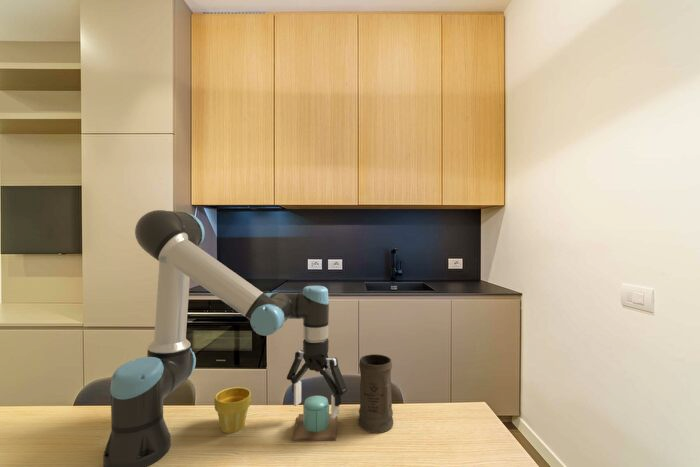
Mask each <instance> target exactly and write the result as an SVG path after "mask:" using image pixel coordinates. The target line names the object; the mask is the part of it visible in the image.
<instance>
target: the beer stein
mask: <svg viewBox="0 0 700 467" xmlns="http://www.w3.org/2000/svg"><path fill="white" fill-rule="evenodd" d="M358 365H359V366H358V367H359V374H360V384H359V385H360V386H359V393H360V396H359V397H360V398H359V399H360V400H359V401H360V402H359V403H360V404H359V410H358V414H359V415H358V418H357V419H358V421H357V422H358V426H359V427H360V428H361V429H362V430H364V431H366V432H368V433H373V434H374V433H377V434H379V433H386V432H388V431H390V430H391V429H392V428H393V426H394V418H393V414H394V411H393V404H392V376H391V375H392V368H393V364H392V359H391V358H390V357H389V356H386V355H383V354H378V353H377V354H373V353H372V354H368V355H367V354H366V355H363V356H361V357H360V359H359V364H358Z"/></svg>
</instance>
